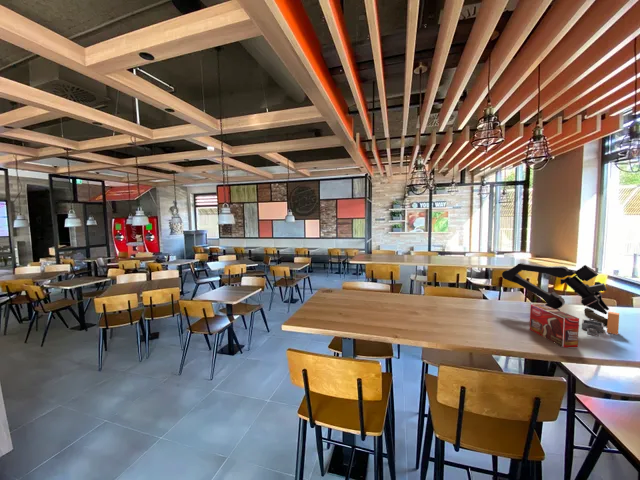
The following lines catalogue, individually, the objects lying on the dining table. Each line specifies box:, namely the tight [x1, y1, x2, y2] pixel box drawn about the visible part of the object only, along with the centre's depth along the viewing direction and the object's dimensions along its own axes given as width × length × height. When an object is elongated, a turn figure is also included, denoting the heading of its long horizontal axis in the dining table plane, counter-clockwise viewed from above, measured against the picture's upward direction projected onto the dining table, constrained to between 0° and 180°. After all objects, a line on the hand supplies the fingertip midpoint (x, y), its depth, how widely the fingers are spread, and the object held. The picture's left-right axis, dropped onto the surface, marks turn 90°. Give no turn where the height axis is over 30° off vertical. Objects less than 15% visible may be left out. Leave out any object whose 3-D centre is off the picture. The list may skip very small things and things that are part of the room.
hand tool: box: [583, 307, 608, 327], centre depth 150 cm, size 19×4×5 cm, turn 159°
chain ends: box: [581, 318, 604, 337], centre depth 137 cm, size 22×8×3 cm, turn 134°
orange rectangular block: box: [606, 311, 620, 336], centre depth 132 cm, size 4×4×10 cm
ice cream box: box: [529, 303, 580, 348], centre depth 127 cm, size 20×6×13 cm, turn 177°
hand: (607, 311), depth 133 cm, fingers open, 9 cm apart
